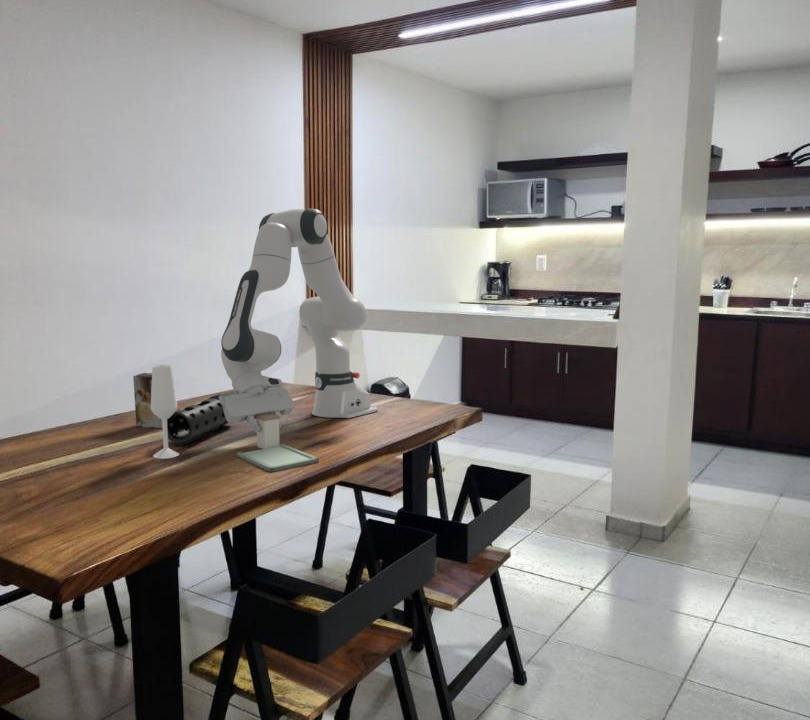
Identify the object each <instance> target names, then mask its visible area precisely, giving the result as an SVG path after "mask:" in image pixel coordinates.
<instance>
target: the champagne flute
mask: <svg viewBox="0 0 810 720" xmlns="http://www.w3.org/2000/svg"><path fill="white" fill-rule="evenodd" d="M151 368H152V371H151V373H152V388H151V410H152V412H153V413H154V414H155V415H156V416H157V417H159V418H160V419H162V425H163V428H162V443H163V448H162V449H160V450H159V451H157V452H156V453H154V454H153V455H152V457H153V458H155V459H164V460H165V459H172V458H175V457H178V456H179V455H180V453H179V452H177V451H176V450H173V449H172V448H170V447H169V439H168V432H167V419H168V418H170V417H171V416H172V415H173V414H174V412H175V411H177V409H178V402H177V393H176V387H175V381H174V373H173V366H172V364H156V365H153V366H152V367H151Z"/></svg>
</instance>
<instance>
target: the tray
mask: <svg viewBox="0 0 810 720" xmlns="http://www.w3.org/2000/svg"><path fill="white" fill-rule="evenodd" d="M279 445H280V446H278V447H272V448H267V449H257V450H252V451H247V452H242V451H239V452H236V457H237V456H238V457H237V458H239V457H240V459H241V458H242V460H244V461H245V462H247V463H250V464H252V465H254V466H257V467H259V468H261V469H263V470H265V471H267V472H269V473H273V472H274V473H275V472H279V471H282V470H287V469H293V468H297V467H302V466H306V465H311V463H312V464H315V463H314V462H316V463H319V461H320V458H319V457H316V456H314V455H312V454H309V453H307V452H304V451H302V450H299V449H297V448H294V447H291V446H289V445H287V444H285V443H282V444H279Z"/></svg>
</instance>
